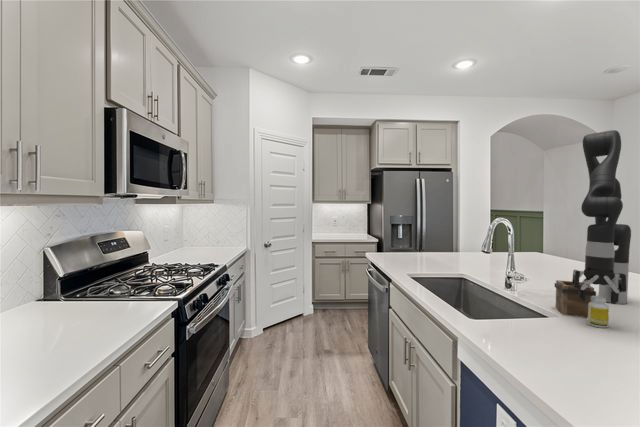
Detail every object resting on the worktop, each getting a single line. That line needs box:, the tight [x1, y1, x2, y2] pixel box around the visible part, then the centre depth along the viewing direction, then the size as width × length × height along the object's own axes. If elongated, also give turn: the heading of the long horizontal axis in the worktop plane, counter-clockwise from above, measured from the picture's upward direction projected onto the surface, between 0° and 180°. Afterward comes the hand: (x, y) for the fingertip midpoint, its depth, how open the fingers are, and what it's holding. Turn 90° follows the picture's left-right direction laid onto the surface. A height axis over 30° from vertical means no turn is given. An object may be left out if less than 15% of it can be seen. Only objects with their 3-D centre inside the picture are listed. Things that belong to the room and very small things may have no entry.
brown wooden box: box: [554, 280, 597, 318], centre depth 126 cm, size 10×10×11 cm
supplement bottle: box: [587, 295, 610, 329], centre depth 112 cm, size 5×5×10 cm
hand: (597, 301), depth 112 cm, fingers open, 8 cm apart
